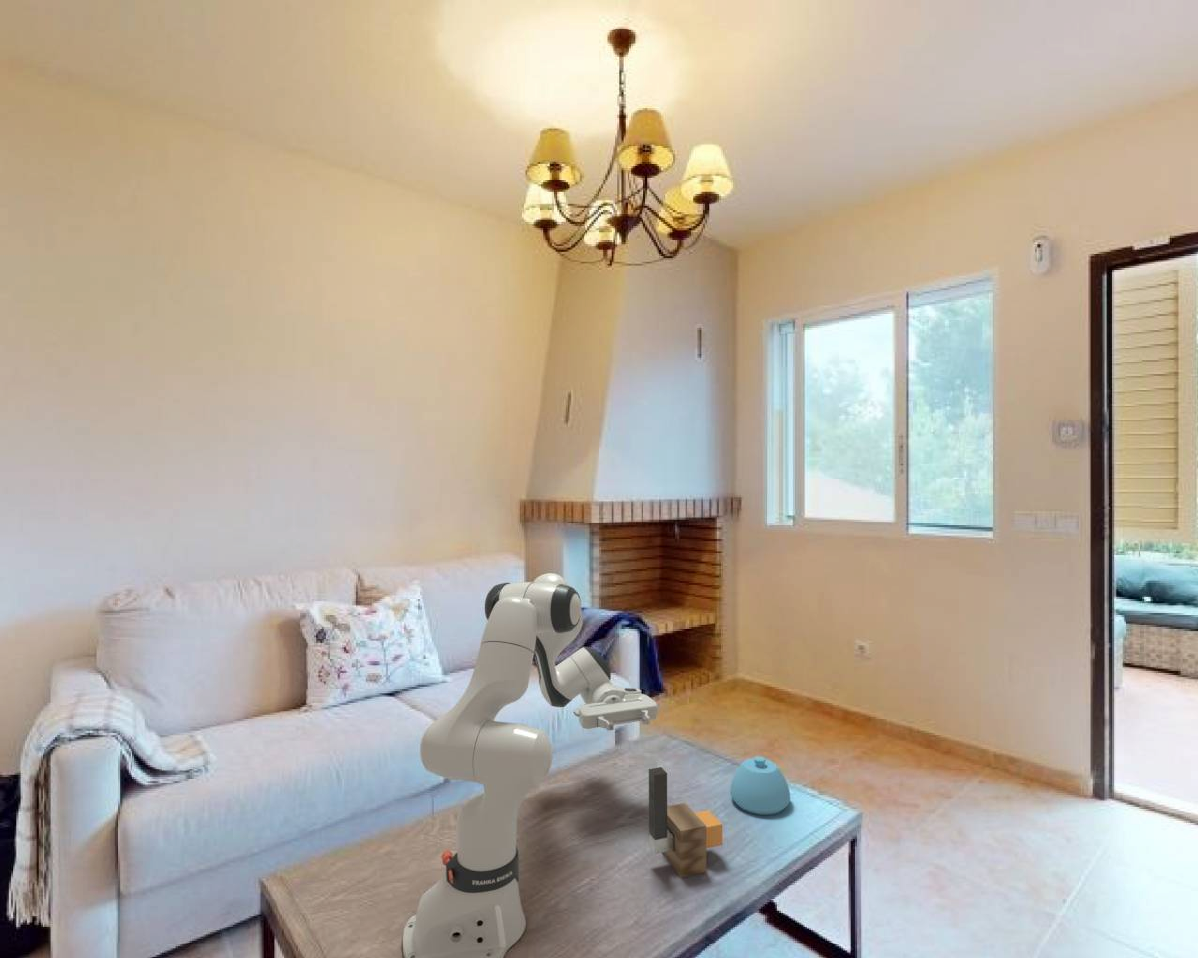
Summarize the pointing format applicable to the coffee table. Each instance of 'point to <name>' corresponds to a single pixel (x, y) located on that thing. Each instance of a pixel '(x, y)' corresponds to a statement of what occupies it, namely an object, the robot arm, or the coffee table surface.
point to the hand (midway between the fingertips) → (629, 724)
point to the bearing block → (686, 841)
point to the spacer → (711, 828)
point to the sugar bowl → (760, 787)
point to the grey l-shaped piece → (659, 813)
